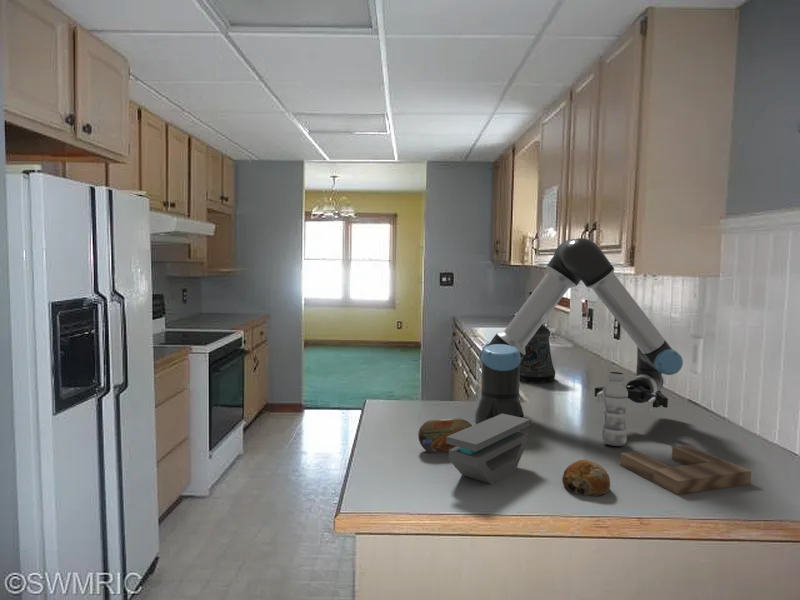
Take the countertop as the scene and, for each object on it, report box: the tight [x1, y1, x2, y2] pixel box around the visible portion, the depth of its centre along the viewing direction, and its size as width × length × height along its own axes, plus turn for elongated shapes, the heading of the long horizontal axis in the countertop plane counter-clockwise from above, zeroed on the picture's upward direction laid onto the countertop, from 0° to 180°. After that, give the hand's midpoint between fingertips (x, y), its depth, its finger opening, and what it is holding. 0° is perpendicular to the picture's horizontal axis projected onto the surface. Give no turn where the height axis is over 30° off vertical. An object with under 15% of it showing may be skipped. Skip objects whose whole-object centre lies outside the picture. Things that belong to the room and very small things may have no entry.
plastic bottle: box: [600, 371, 629, 447], centre depth 151 cm, size 6×7×20 cm
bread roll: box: [561, 458, 611, 497], centre depth 123 cm, size 10×10×8 cm
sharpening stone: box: [446, 414, 531, 485], centre depth 131 cm, size 25×8×11 cm, turn 140°
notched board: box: [619, 444, 752, 495], centre depth 132 cm, size 21×18×3 cm
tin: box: [417, 418, 473, 454], centre depth 146 cm, size 15×3×8 cm, turn 101°
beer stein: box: [520, 323, 556, 384], centre depth 234 cm, size 16×19×25 cm
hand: (622, 402), depth 155 cm, fingers open, 13 cm apart
